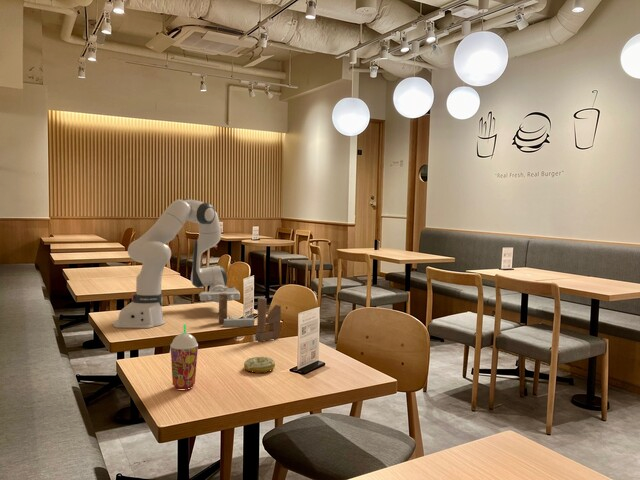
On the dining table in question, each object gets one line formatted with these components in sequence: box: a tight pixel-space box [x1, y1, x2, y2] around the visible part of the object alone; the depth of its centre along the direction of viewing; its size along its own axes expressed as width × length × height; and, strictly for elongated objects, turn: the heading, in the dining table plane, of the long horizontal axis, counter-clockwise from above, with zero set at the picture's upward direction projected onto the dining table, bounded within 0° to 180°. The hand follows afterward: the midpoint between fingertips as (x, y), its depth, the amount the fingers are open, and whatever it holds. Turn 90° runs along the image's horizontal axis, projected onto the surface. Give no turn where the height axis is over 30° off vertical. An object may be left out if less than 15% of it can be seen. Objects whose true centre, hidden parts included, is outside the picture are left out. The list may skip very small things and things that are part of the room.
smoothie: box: [170, 323, 199, 390], centre depth 166 cm, size 8×8×20 cm
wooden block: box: [254, 297, 282, 342], centre depth 228 cm, size 4×11×18 cm, turn 133°
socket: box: [223, 315, 255, 328], centre depth 253 cm, size 14×8×3 cm, turn 106°
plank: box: [218, 293, 228, 325], centre depth 255 cm, size 4×4×14 cm
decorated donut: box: [243, 356, 276, 373], centre depth 187 cm, size 10×11×4 cm
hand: (221, 298), depth 267 cm, fingers open, 8 cm apart
